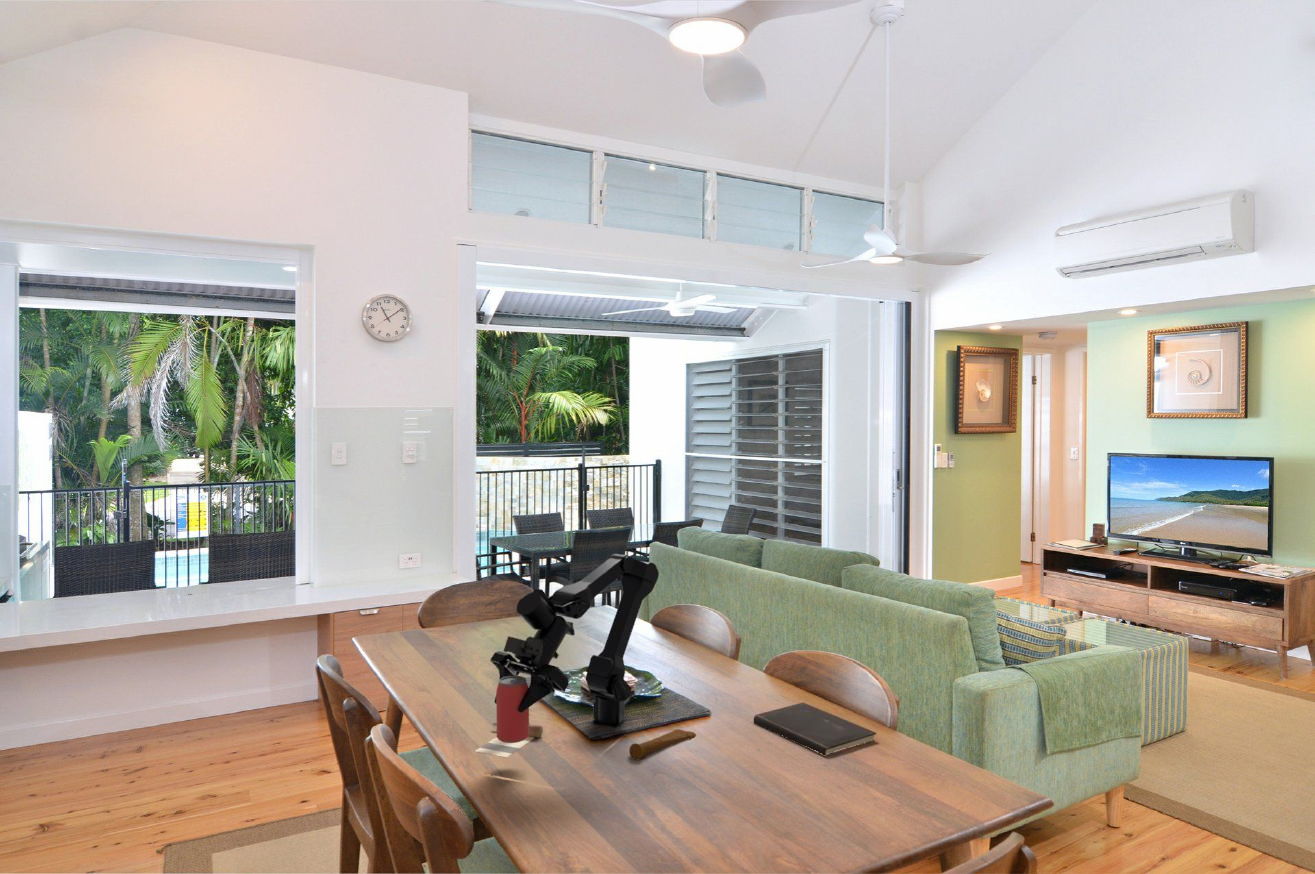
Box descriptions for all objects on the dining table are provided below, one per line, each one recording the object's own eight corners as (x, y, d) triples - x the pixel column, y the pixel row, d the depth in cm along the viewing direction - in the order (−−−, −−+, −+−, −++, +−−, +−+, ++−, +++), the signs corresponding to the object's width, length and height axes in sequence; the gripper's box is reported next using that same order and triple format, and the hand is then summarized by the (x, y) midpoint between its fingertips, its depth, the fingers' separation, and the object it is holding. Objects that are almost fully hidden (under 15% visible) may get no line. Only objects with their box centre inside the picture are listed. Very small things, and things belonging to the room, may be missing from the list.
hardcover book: (803, 711, 201) (803, 702, 201) (876, 742, 182) (876, 732, 182) (753, 724, 192) (753, 715, 192) (824, 759, 173) (824, 748, 173)
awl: (542, 735, 183) (542, 724, 183) (537, 739, 180) (537, 728, 180) (496, 727, 187) (496, 716, 187) (490, 731, 185) (490, 720, 185)
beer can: (512, 747, 163) (512, 687, 163) (489, 739, 167) (489, 681, 167) (535, 736, 169) (535, 678, 168) (513, 729, 172) (512, 672, 172)
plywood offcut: (542, 733, 185) (542, 731, 185) (507, 759, 171) (507, 757, 171) (512, 728, 188) (512, 726, 188) (474, 753, 174) (474, 751, 174)
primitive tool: (678, 731, 188) (678, 715, 188) (698, 737, 185) (698, 721, 185) (626, 759, 172) (626, 742, 172) (647, 766, 169) (647, 749, 169)
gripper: (496, 613, 176) (455, 677, 168) (558, 627, 164) (517, 697, 156) (524, 641, 182) (485, 704, 174) (585, 657, 171) (547, 725, 163)
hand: (507, 707), depth 167 cm, fingers closed on beer can, 7 cm apart
